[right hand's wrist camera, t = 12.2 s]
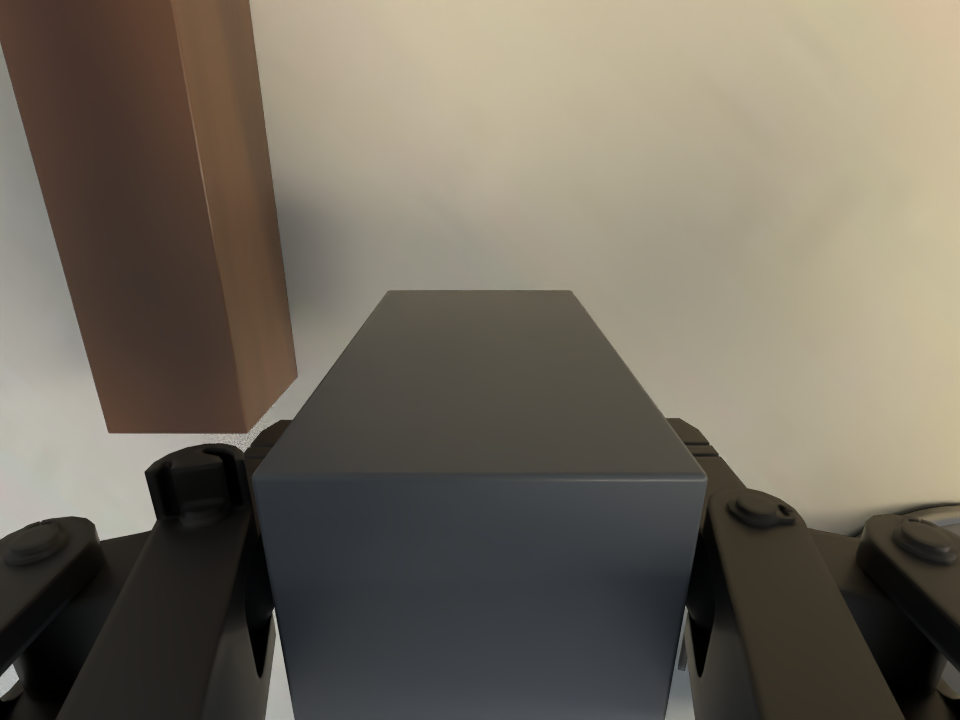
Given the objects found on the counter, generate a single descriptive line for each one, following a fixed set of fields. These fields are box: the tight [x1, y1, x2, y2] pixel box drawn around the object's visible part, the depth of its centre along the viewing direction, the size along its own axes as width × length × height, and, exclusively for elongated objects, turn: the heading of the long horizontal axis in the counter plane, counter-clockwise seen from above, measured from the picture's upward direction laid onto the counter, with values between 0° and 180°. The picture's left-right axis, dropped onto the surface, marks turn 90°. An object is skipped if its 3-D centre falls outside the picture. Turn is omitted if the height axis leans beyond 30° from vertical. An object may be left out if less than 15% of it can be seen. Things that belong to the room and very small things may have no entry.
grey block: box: [252, 290, 708, 720], centre depth 11 cm, size 5×5×9 cm
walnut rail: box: [0, 0, 298, 434], centre depth 19 cm, size 6×26×6 cm, turn 0°
